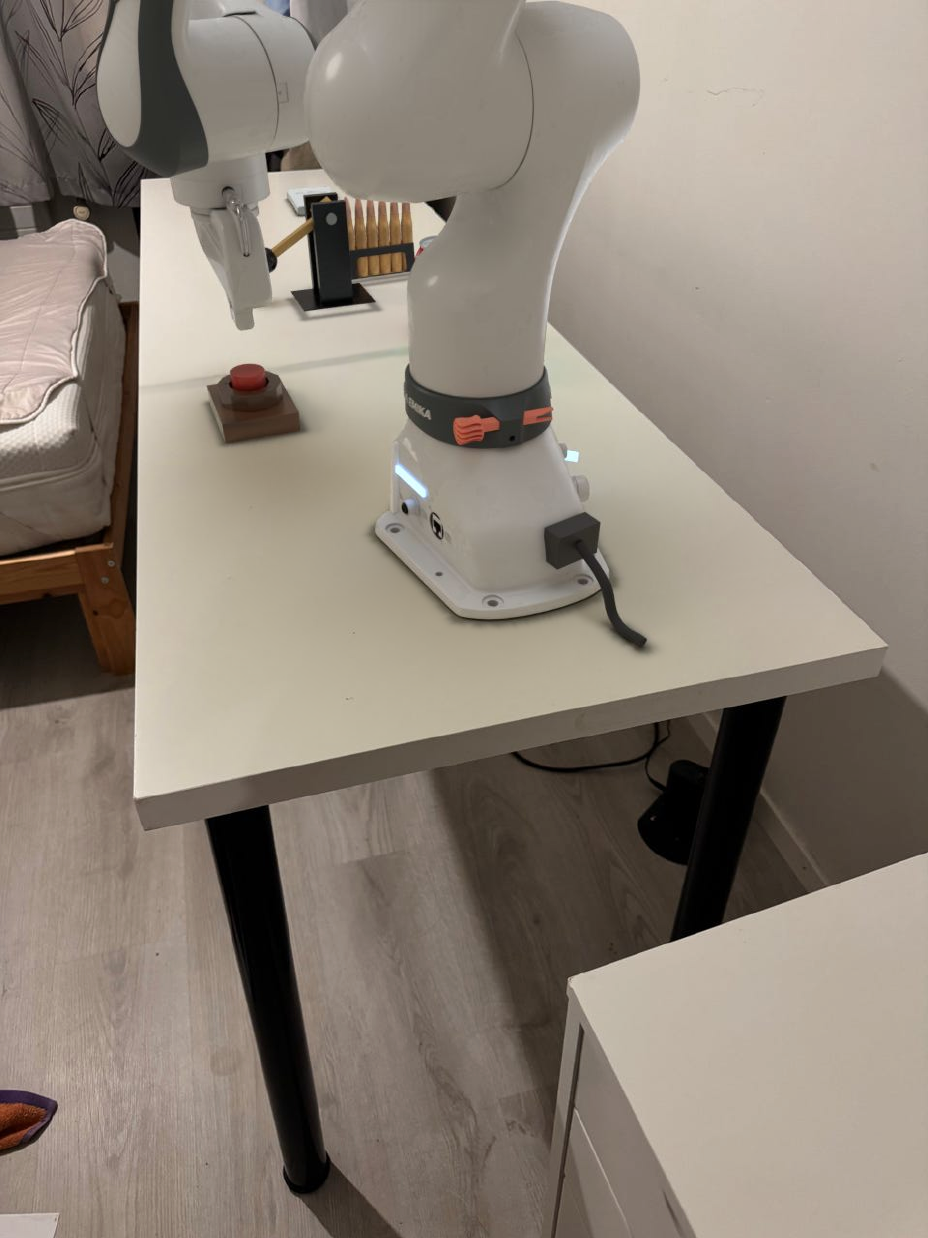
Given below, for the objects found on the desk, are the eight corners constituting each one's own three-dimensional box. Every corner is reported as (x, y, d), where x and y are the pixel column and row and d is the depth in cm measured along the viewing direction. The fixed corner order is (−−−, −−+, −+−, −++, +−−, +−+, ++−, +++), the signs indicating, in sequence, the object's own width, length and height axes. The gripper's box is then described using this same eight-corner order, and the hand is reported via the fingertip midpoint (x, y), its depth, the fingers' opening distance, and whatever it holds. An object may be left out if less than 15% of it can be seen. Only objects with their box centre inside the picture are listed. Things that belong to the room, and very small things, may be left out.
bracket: (305, 319, 120) (293, 209, 111) (291, 299, 126) (279, 193, 117) (376, 309, 123) (370, 202, 114) (360, 290, 129) (353, 187, 120)
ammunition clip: (347, 287, 130) (341, 198, 122) (343, 283, 131) (336, 195, 123) (416, 277, 133) (414, 190, 125) (411, 274, 134) (409, 187, 127)
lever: (265, 281, 117) (250, 261, 115) (260, 273, 120) (245, 254, 118) (344, 220, 117) (330, 198, 114) (337, 213, 119) (323, 192, 117)
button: (269, 390, 95) (267, 374, 94) (235, 395, 94) (233, 379, 93) (262, 376, 97) (260, 361, 96) (229, 381, 96) (226, 366, 95)
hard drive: (298, 216, 158) (287, 197, 167) (343, 212, 160) (330, 194, 169) (297, 206, 157) (285, 188, 166) (343, 202, 158) (329, 185, 168)
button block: (301, 430, 95) (296, 395, 93) (225, 443, 93) (219, 408, 91) (280, 392, 103) (276, 359, 100) (209, 403, 100) (203, 369, 98)
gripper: (277, 199, 76) (297, 357, 84) (234, 152, 91) (255, 291, 99) (201, 206, 74) (230, 367, 83) (171, 158, 89) (197, 298, 98)
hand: (243, 325), depth 91 cm, fingers closed
